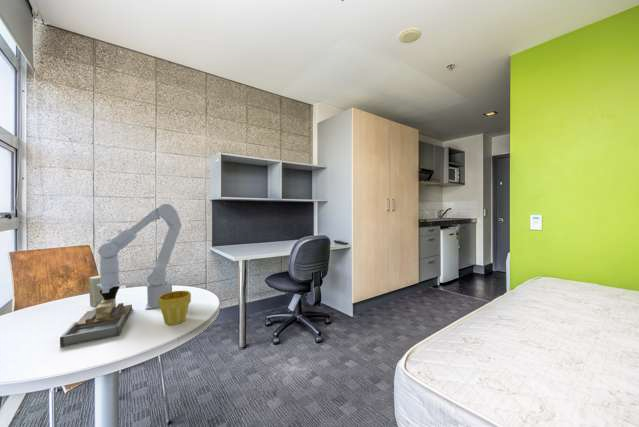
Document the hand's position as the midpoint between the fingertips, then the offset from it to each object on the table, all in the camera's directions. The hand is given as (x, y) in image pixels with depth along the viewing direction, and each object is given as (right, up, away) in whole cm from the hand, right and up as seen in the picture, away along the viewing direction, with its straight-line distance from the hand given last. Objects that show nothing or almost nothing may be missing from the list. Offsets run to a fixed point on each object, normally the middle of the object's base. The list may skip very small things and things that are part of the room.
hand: (110, 306), depth 102 cm
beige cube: (+5, -1, -8) cm, 9 cm away
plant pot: (+31, -3, -9) cm, 33 cm away
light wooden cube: (+2, -1, -3) cm, 4 cm away
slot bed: (+3, -3, -6) cm, 7 cm away
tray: (+10, -3, -18) cm, 20 cm away
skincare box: (-13, -3, +10) cm, 17 cm away
